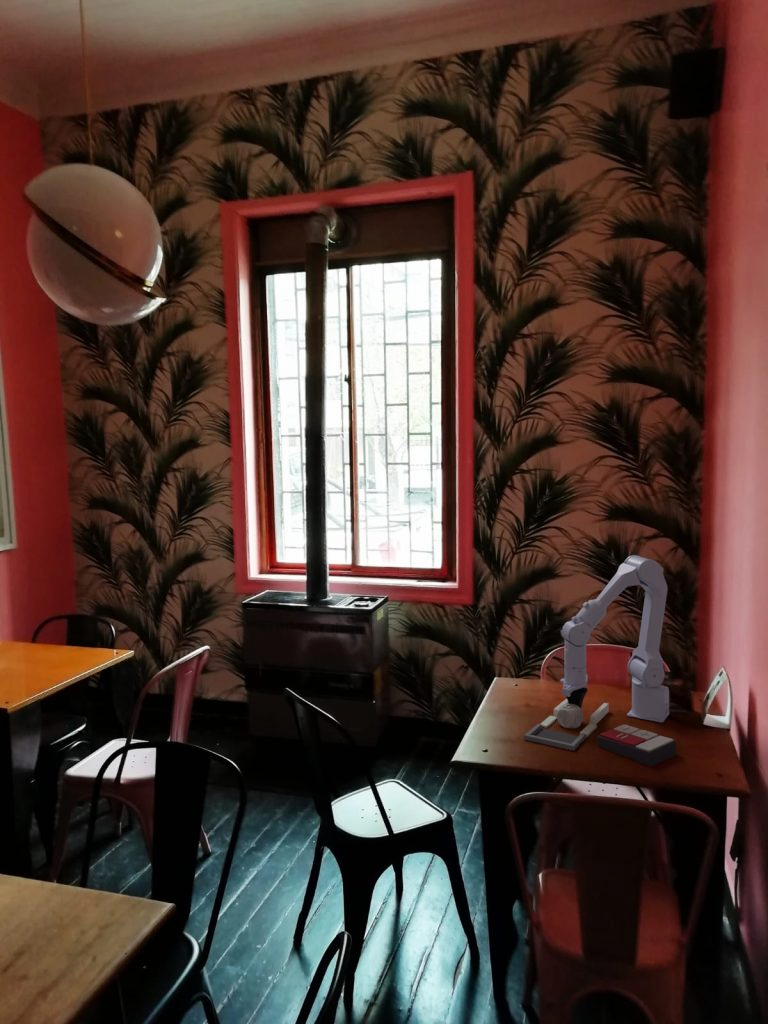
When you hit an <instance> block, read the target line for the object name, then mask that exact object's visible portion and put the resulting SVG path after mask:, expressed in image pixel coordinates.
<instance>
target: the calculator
mask: <svg viewBox="0 0 768 1024" xmlns="http://www.w3.org/2000/svg"><path fill="white" fill-rule="evenodd" d="M596 738H597V747H598V746H599V747H598V748H600V747H602V748H601V749H603V748H604V749H603V750H605V749H607V750H606V751H608V750H609V752H612V753H613V752H614V754H616V753H617V754H616V755H618V756H621V755H622V757H624V756H625V758H627V759H631V760H633V761H634V762H636V761H637V763H639V764H642V765H644V766H647V767H651V768H652V767H654V766H655V765H658V764H660V763H662V762H664V761H666V760H669V759H671V758H672V757H675V756H677V753H678V752H677V741H676V739H673V738H671V737H670V738H669V737H666V736H663V735H659V734H658V733H655V732H652V731H649V730H645V729H640V728H638V727H634V726H631V725H628V724H622V725H621V724H620V725H619V726H617V727H614V728H612V729H609V730H606V731H604V732H601V733H600V734H599V735H597V737H596Z"/></svg>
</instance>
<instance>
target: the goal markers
mask: <svg viewBox="0 0 768 1024" xmlns="http://www.w3.org/2000/svg"><path fill="white" fill-rule="evenodd" d="M556 719H557V717H555V716H554V715H549V716H548V717H547V718H546V719H544V720H543V721H542V722H541V723H540V724H542V728H543V727H544V728H543V729H548V728H549V727H550V726H551V725H552V724H554V722H556V721H557V720H556ZM555 720H556V721H555ZM547 727H548V728H547ZM597 728H598V725H597V724H596V725H594V724H590V723H588V724H587V725H586V726H585V727H584V728H583V729H582V730H581V731H580V732H579V736H580V735H581V734H582V733H585V734H586V738H588V737H589V736H590V735H591V734H592V733H593V732H594V731H595V730H596V729H597Z"/></svg>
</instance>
